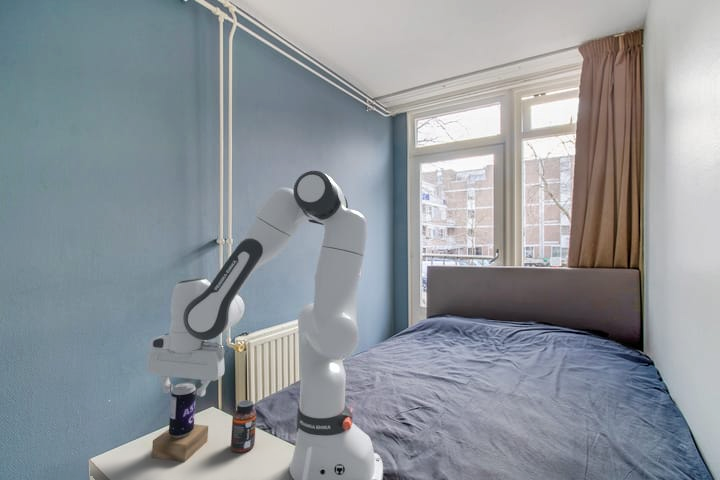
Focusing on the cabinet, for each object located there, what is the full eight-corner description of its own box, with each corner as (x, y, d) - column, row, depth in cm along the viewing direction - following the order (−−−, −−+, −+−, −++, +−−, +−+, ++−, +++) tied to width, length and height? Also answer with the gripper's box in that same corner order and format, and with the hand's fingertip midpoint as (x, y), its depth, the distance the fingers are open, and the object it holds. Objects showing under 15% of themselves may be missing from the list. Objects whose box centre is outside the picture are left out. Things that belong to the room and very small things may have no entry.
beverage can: (182, 440, 80) (185, 391, 81) (163, 437, 81) (166, 388, 82) (198, 429, 86) (201, 383, 86) (180, 426, 87) (183, 380, 87)
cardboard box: (207, 441, 87) (208, 425, 87) (184, 461, 78) (185, 444, 78) (177, 437, 88) (178, 422, 89) (151, 457, 80) (152, 440, 80)
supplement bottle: (254, 452, 83) (256, 407, 84) (229, 455, 81) (232, 409, 82) (254, 439, 89) (257, 397, 89) (231, 441, 87) (234, 399, 88)
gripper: (231, 340, 86) (227, 392, 86) (162, 334, 89) (158, 385, 89) (217, 346, 80) (213, 403, 79) (144, 340, 83) (140, 394, 82)
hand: (184, 393), depth 84 cm, fingers open, 8 cm apart
